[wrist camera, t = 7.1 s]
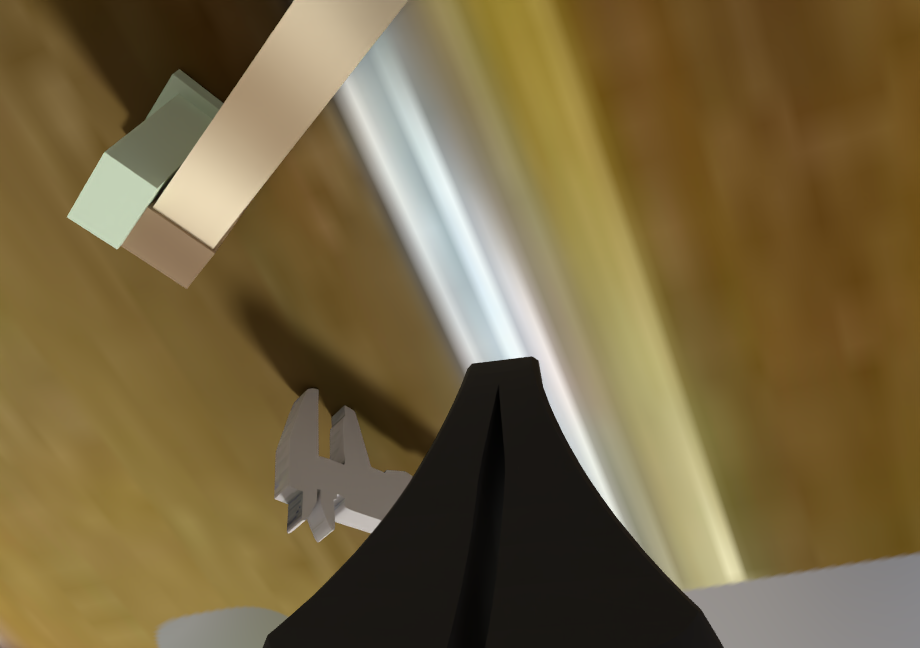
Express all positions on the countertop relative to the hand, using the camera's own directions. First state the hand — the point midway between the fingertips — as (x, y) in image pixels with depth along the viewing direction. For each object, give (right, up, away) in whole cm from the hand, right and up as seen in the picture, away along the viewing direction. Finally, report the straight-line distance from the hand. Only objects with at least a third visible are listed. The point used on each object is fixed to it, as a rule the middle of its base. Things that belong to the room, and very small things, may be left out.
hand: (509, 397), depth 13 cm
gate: (-5, +9, +6) cm, 12 cm away
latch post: (-10, +8, +7) cm, 14 cm away
